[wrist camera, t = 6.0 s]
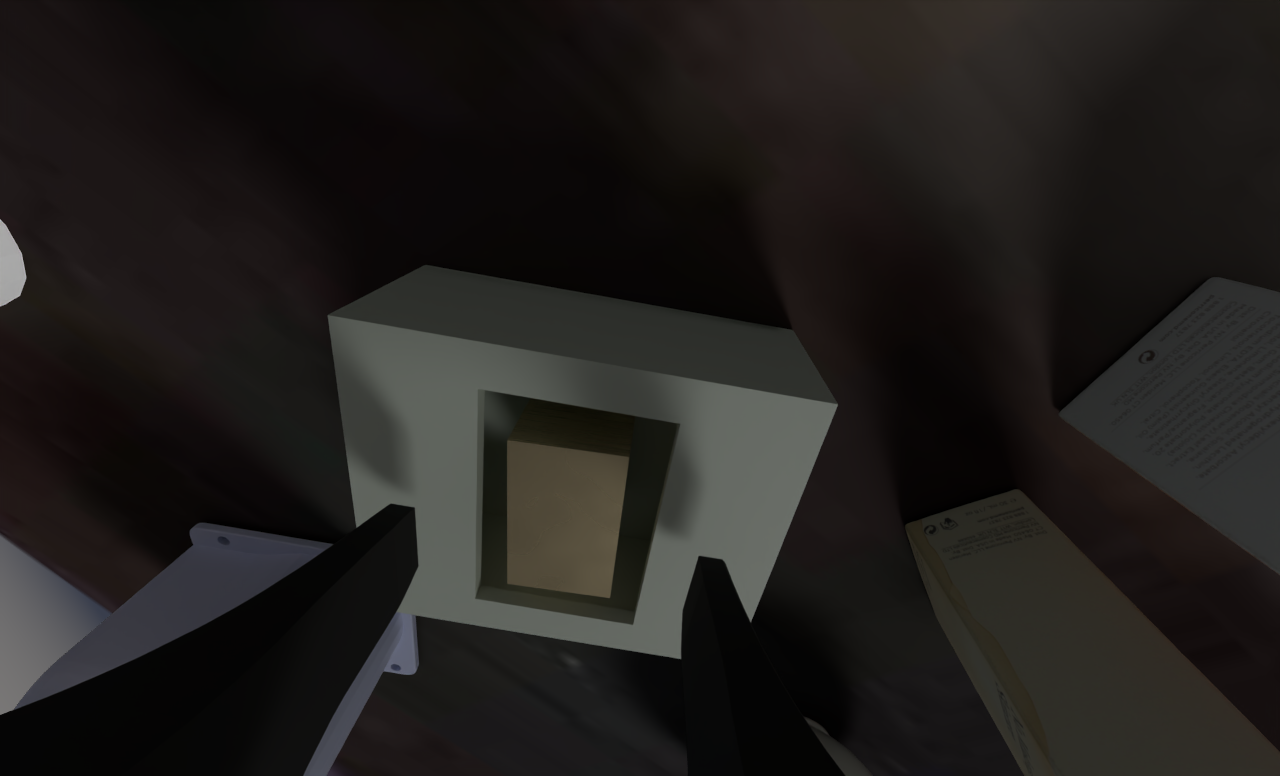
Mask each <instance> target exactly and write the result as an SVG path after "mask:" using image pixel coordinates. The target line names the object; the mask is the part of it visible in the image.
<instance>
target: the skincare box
mask: <svg viewBox="0 0 1280 776" xmlns="http://www.w3.org/2000/svg"><path fill="white" fill-rule="evenodd" d="M905 530H906V533H907V535H908V538H909V542H910V545H911V548H912V551H913V554H914V557H915V560H916V563H917V566H918V569H919V572H920V574H921V577H922V580H923V583H924V585H925V588H926V591H927V593H928V596H929V599H930V601H931V604H932V607H933V609H934V612H935V615H936V617H937V619H938V621H939V623H940V625H941V627H942V628H943V630H944V632H945V634H946V636H947V637H948V639H949V641H950V643H951V645H952V647H953V648H954V650H955V652H956V654H957V656H958V657H959V659H960V661H961V663H962V665H963V666H964V668H965V670H966V672H967V674H968V675H969V677H970V679H971V681H972V683H973V684H974V686H975V688H976V690H977V692H978V693H979V695H980V697H981V699H982V700H983V702H984V704H985V706H986V708H987V709H988V711H989V713H990V715H991V716H992V718H993V720H994V722H995V724H996V725H997V727H998V729H999V731H1000V732H1001V734H1002V736H1003V738H1004V740H1005V741H1006V743H1007V745H1008V747H1009V749H1010V750H1011V752H1012V754H1013V756H1014V758H1015V759H1016V761H1017V763H1018V765H1019V766H1020V768H1021V770H1022V772H1023V774H1024V775H1025V776H1280V752H1279V751H1278V750H1277V749H1276V748H1275V747H1274V746H1273V745H1272V744H1271V743H1270V742H1269V741H1268V740H1267V739H1266V738H1265V737H1264V736H1263V734H1262V733H1261V732H1260V731H1259V730H1258V729H1257V728H1256V727H1255V726H1254V725H1253V724H1252V723H1251V722H1250V721H1249V720H1248V719H1247V718H1246V717H1245V716H1244V715H1243V714H1242V713H1241V712H1240V711H1239V710H1238V709H1237V708H1236V707H1235V706H1234V705H1233V704H1232V703H1231V702H1230V701H1229V700H1228V699H1227V698H1226V697H1225V696H1224V695H1223V694H1222V693H1221V692H1220V691H1219V690H1218V689H1217V688H1216V687H1215V686H1214V685H1213V684H1212V683H1211V682H1210V681H1209V680H1208V679H1207V678H1206V677H1205V676H1204V675H1203V674H1202V673H1201V672H1200V671H1199V670H1198V669H1197V668H1196V667H1195V666H1194V665H1193V664H1192V663H1191V662H1190V661H1189V660H1188V659H1187V658H1186V657H1185V656H1184V655H1183V654H1182V653H1181V652H1180V651H1179V650H1178V649H1177V648H1176V647H1175V646H1174V645H1173V644H1172V643H1171V642H1170V641H1169V640H1168V639H1167V638H1166V637H1165V636H1164V635H1163V634H1162V633H1161V632H1160V631H1159V629H1158V628H1157V627H1156V626H1155V625H1154V624H1153V623H1152V622H1151V621H1150V620H1149V619H1148V618H1147V617H1146V616H1145V615H1144V614H1143V613H1142V612H1141V611H1140V610H1139V609H1138V608H1137V607H1136V606H1135V605H1134V604H1133V603H1132V602H1131V601H1130V600H1129V599H1128V598H1127V597H1126V596H1125V595H1124V594H1123V593H1122V592H1121V591H1120V590H1119V589H1118V588H1117V587H1116V586H1115V585H1114V584H1113V583H1112V582H1111V581H1110V580H1109V579H1108V578H1107V577H1106V576H1105V575H1104V574H1103V573H1102V572H1101V571H1100V570H1099V569H1098V568H1097V567H1096V566H1095V565H1094V564H1093V563H1092V562H1091V561H1090V560H1089V559H1088V558H1087V557H1086V556H1085V555H1084V554H1083V553H1082V552H1081V551H1080V550H1079V549H1078V548H1077V547H1076V546H1075V545H1074V544H1073V543H1072V542H1071V541H1070V539H1069V538H1068V537H1067V536H1066V535H1064V534H1063V533H1062V532H1061V531H1060V530H1059V529H1058V528H1057V526H1056V525H1055V524H1054V523H1053V522H1052V521H1051V520H1050V519H1049V518H1048V517H1047V516H1046V515H1045V514H1044V513H1043V512H1042V511H1041V510H1040V509H1039V508H1038V507H1037V506H1036V505H1035V504H1034V503H1033V502H1032V501H1031V500H1030V499H1029V498H1028V497H1027V496H1026V495H1025V494H1024V493H1023V492H1022V491H1020V490H1018V489H1014V490H1011V491H1009V492H1005V493H1002V494H999V495H995V496H992V497H989V498H986V499H982V500H979V501H976V502H973V503H969V504H966V505H963V506H960V507H957V508H953V509H950V510H947V511H944V512H941V513H938V514H935V515H931V516H929V517H926V518H923V519H920V520H917V521H913V522H910V523H908V524H906V525H905Z"/></svg>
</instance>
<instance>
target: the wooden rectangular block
mask: <svg viewBox="0 0 1280 776" xmlns="http://www.w3.org/2000/svg"><path fill="white" fill-rule="evenodd" d="M634 423H635V416H632V415H626V414H621V413H615V412H609V411H603V410H597V409H592V408H586V407H580V406H574V405H569V404H563V403H557V402H551V401H546V400H540V399H534V398H530V400H529V402H528V403H527V405H526V407H525V409H524V411H523V412H522V414H521V416H520V418H519V420H518V421H517V423H516V425H515V427H514V429H513V431H512V432H511V434H510V436H509V438H508V440H507V584H512V585H519V586H526V587H534V588H541V589H548V590H555V591H562V592H569V593H577V594H584V595H591V596H598V597H605V598H610V594H611V587H612V580H613V573H614V566H615V559H616V552H617V545H618V538H619V531H620V524H621V517H622V510H623V502H624V495H625V488H626V481H627V474H628V467H629V459H630V452H631V445H632V438H633V430H634Z"/></svg>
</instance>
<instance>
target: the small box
mask: <svg viewBox="0 0 1280 776" xmlns="http://www.w3.org/2000/svg"><path fill="white" fill-rule="evenodd" d="M1059 417H1060V418H1062V419H1063V420H1064V421H1066V422H1067V423H1069V424H1070V425H1072V426H1073V427H1074V428H1076V429H1077V430H1078V431H1080V432H1081V433H1082V434H1084V435H1085V436H1087V437H1088V438H1089V439H1091V440H1092V441H1094V442H1095V443H1096V444H1098V445H1099V446H1100V447H1102V448H1103V449H1105V450H1106V451H1107V452H1109V453H1110V454H1112V455H1113V456H1114V457H1116V458H1117V459H1119V460H1120V461H1121V462H1123V463H1124V464H1126V465H1127V466H1128V467H1130V468H1131V469H1132V470H1134V471H1135V472H1136V473H1138V474H1139V475H1141V476H1142V477H1143V478H1145V479H1146V480H1148V481H1149V482H1150V483H1152V484H1153V485H1155V486H1156V487H1157V488H1159V489H1160V490H1162V491H1163V492H1164V493H1166V494H1167V495H1168V496H1170V497H1171V498H1173V499H1174V500H1175V501H1177V502H1178V503H1180V504H1181V505H1182V506H1184V507H1185V508H1187V509H1188V510H1189V511H1191V512H1192V513H1194V514H1195V515H1196V516H1198V517H1199V518H1201V519H1202V520H1204V521H1205V522H1206V523H1208V524H1209V525H1211V526H1212V527H1213V528H1215V529H1216V530H1218V531H1219V532H1220V533H1222V534H1223V535H1224V536H1226V537H1227V538H1229V539H1230V540H1231V541H1233V542H1234V543H1236V544H1237V545H1238V546H1240V547H1241V548H1243V549H1244V550H1245V551H1247V552H1248V553H1250V554H1251V555H1252V556H1254V557H1255V558H1257V559H1258V560H1259V561H1261V562H1262V563H1264V564H1265V565H1266V566H1268V567H1269V568H1271V569H1272V570H1273V571H1275V572H1276V573H1278V574H1279V575H1280V292H1277V291H1273V290H1269V289H1265V288H1261V287H1257V286H1253V285H1249V284H1245V283H1241V282H1237V281H1232V280H1228V279H1224V278H1220V277H1212V278H1210V279H1208V280H1207V281H1206V282H1205V283H1203V284H1202V285H1201V286H1200V287H1199V288H1198V289H1197V290H1196V291H1194V292H1193V293H1192V294H1191V295H1190V296H1189V297H1188V298H1187V299H1186V300H1184V301H1183V302H1182V303H1181V304H1180V305H1179V306H1178V307H1177V308H1175V309H1174V310H1173V311H1172V312H1171V313H1170V314H1169V315H1168V316H1166V317H1165V318H1164V319H1163V320H1162V321H1161V322H1160V323H1159V324H1158V325H1156V326H1155V327H1154V328H1153V329H1152V330H1151V331H1150V332H1148V333H1147V334H1146V335H1145V336H1144V337H1143V338H1142V339H1141V340H1140V341H1138V342H1137V343H1136V344H1135V345H1134V346H1133V347H1132V348H1131V349H1130V350H1128V351H1127V352H1126V353H1125V354H1124V355H1123V356H1122V357H1121V358H1119V359H1118V360H1117V361H1116V362H1115V363H1114V364H1113V365H1112V366H1110V367H1109V368H1108V369H1107V370H1106V371H1105V372H1104V373H1102V374H1101V375H1100V376H1099V377H1098V378H1097V379H1096V380H1095V381H1093V382H1092V383H1091V384H1090V385H1089V386H1088V387H1087V388H1086V389H1085V390H1083V391H1082V392H1081V393H1080V394H1079V395H1078V396H1077V397H1076V398H1075V399H1073V400H1072V401H1071V402H1070V403H1069V404H1068V405H1067V406H1066V407H1064V408H1063V409H1062V410H1061V411H1060V413H1059Z"/></svg>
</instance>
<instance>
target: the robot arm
mask: <svg viewBox="0 0 1280 776" xmlns="http://www.w3.org/2000/svg"><path fill="white" fill-rule="evenodd" d="M190 537H191V540H192V543H193V546H192V547H190V548H189V549H188V550H187V551H186V552H184V553H183V554H182V555H181V556H180V557H179V558H177V559H176V560H175V561H174V562H173V563H171V564H170V565H169V566H168V567H167V568H166V569H164V570H163V571H162V572H161V573H160V574H159V575H157V576H156V577H155V578H154V579H153V580H151V581H150V582H149V583H148V584H147V585H146V586H144V587H143V588H142V589H141V590H140V591H138V592H137V593H136V594H135V595H134V596H133V597H131V598H130V599H129V600H128V601H127V602H126V603H124V604H123V605H122V606H121V607H120V608H118V609H117V610H116V611H115V612H114V613H113V614H111V615H110V616H109V617H108V618H107V619H105V620H104V621H103V622H102V623H101V624H100V625H99V626H97V627H96V628H95V629H94V630H93V631H91V632H90V633H89V634H88V635H87V636H85V637H84V638H83V639H82V640H81V641H80V642H78V643H77V644H76V645H75V646H74V647H73V648H71V649H70V650H69V651H68V652H67V653H65V655H63V656H62V657H61V658H60V659H58V660H57V661H56V662H55V663H54V664H53V665H52V666H51V667H50V668H49V669H48V670H47V671H46V672H45V673H44V674H43V675H42V676H41V677H40V678H39V679H38V680H37V681H36V682H35V683H34V684H33V686H32V687H31V688H30V689H29V690H28V692H27V693H26V694H25V695H24V697H23V698H22V699H21V701H20V702H19V703H18V704H17V706H16V707H15V709H14V710H13V711H9V712H7V713H4V714H2V715H0V776H326V775H327V773H328V771H329V770H330V768H331V766H332V764H333V762H334V760H335V759H336V757H337V755H338V753H339V751H340V749H341V748H342V746H343V744H344V742H345V740H346V738H347V737H348V735H349V733H350V731H351V729H352V727H353V726H354V724H355V722H356V720H357V718H358V717H359V715H360V713H361V711H362V709H363V707H364V706H365V704H366V702H367V700H368V698H369V696H370V695H371V693H372V691H373V689H374V687H375V685H376V684H377V682H378V680H379V678H380V676H381V674H382V673H383V671H387V672H393V673H399V674H405V675H411V674H414V673H415V672H416V670H417V668H418V665H419V659H418V645H417V631H416V617H415V615H411V614H405V613H399V612H397V610H398V608H399V607H400V605H401V603H402V601H403V599H404V597H405V595H406V592H407V590H408V588H409V586H410V584H411V582H412V580H413V577H414V575H415V573H416V571H417V568H418V566H419V565H418V549H417V533H416V517H415V507H409V506H403V505H397V504H389V505H388V506H386V507H385V508H383V509H382V510H380V511H379V512H378V513H376V514H375V515H373V516H372V517H371V518H369V519H368V520H367V521H365V522H364V523H362V524H361V525H360V526H358V527H357V528H356V529H354V530H353V531H351V532H350V533H349V534H347V535H346V536H344V537H343V538H342V539H340V540H339V541H337V542H336V543H335V544H329V543H323V542H317V541H311V540H306V539H300V538H294V537H288V536H282V535H276V534H270V533H264V532H258V531H252V530H246V529H240V528H234V527H228V526H222V525H216V524H210V523H198V524H196V525H195V526H194V527H193V528H192V529H191V530H190ZM681 664H682V680H683V695H684V710H685V725H686V740H687V761H688V776H845V774H844V773H843V772H842V770H841V769H840V768H839V766H838V765H837V764H836V762H835V761H834V760H833V758H832V757H831V756H830V754H829V753H828V752H827V750H826V749H825V748H824V746H823V745H822V743H821V742H820V740H819V739H818V737H817V736H816V734H815V733H814V731H813V730H812V729H811V727H810V726H809V724H808V723H807V721H806V720H805V718H804V716H803V715H802V713H801V712H800V710H799V709H798V707H797V706H796V704H795V702H794V701H793V699H792V698H791V696H790V694H789V693H788V691H787V689H786V688H785V686H784V684H783V682H782V681H781V679H780V677H779V675H778V674H777V672H776V670H775V668H774V666H773V665H772V663H771V661H770V659H769V657H768V656H767V654H766V652H765V650H764V648H763V646H762V644H761V642H760V640H759V638H758V636H757V634H756V632H755V630H754V628H753V626H752V624H751V622H750V620H749V618H748V615H747V613H746V611H745V609H744V607H743V604H742V602H741V600H740V598H739V595H738V593H737V591H736V588H735V586H734V584H733V581H732V579H731V576H730V574H729V571H728V568H727V566H726V563H725V562H724V561H723V559H717V558H711V557H705V556H699V557H698V560H697V563H696V567H695V570H694V573H693V577H692V580H691V583H690V587H689V590H688V593H687V597H686V600H685V603H684V607H683V610H682V632H681Z"/></svg>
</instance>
